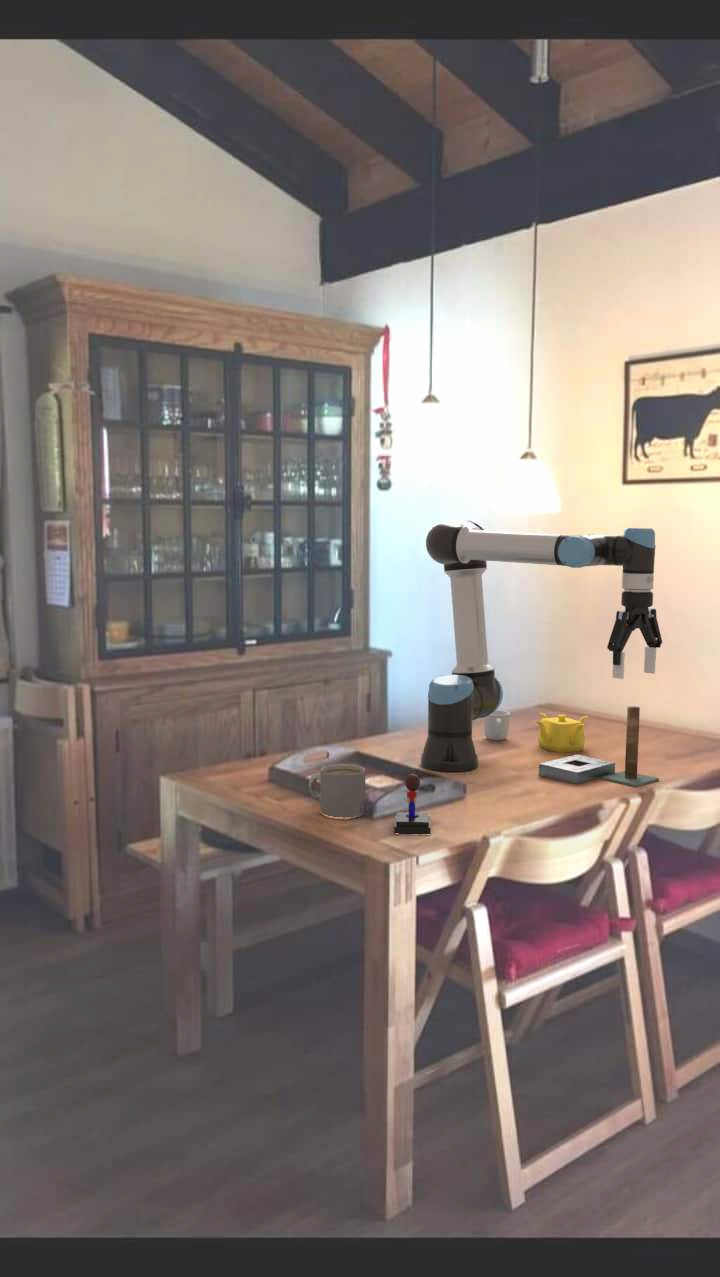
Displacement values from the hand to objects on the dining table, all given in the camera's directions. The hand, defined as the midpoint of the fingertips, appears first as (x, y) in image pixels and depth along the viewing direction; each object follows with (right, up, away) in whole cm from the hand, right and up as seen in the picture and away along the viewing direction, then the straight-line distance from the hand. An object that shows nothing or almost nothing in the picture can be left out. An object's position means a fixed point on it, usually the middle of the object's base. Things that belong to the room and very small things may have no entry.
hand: (634, 675), depth 259 cm
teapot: (-11, -22, +39) cm, 46 cm away
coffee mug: (-74, -30, -27) cm, 84 cm away
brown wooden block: (0, -26, +3) cm, 26 cm away
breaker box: (-13, -26, +8) cm, 30 cm away
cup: (-28, -21, +49) cm, 60 cm away
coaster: (0, -26, +3) cm, 27 cm away
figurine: (-57, -31, -39) cm, 76 cm away
